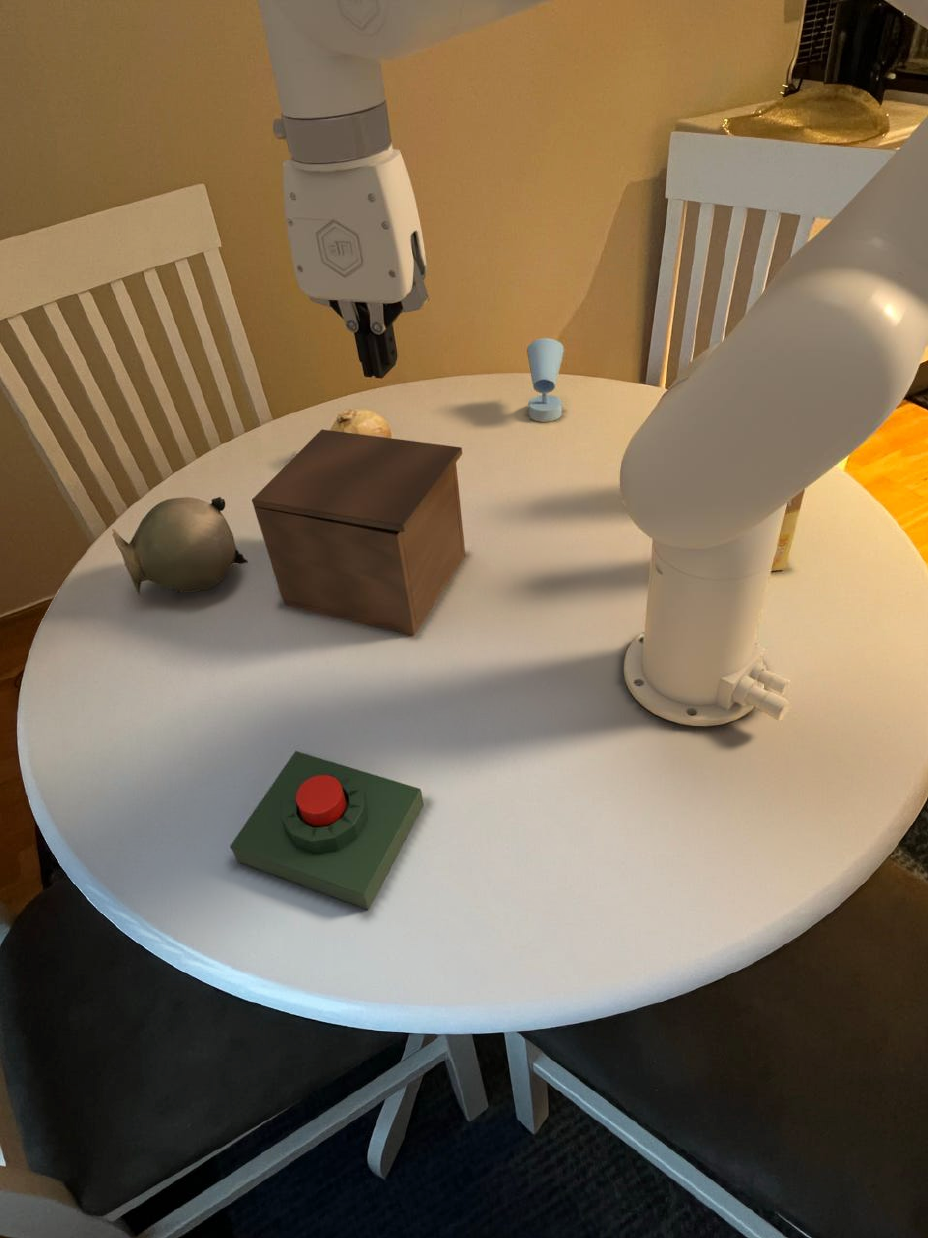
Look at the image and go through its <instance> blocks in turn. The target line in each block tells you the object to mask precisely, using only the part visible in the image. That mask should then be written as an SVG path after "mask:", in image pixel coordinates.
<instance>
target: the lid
mask: <svg viewBox="0 0 928 1238" xmlns="http://www.w3.org/2000/svg"><path fill="white" fill-rule="evenodd" d="M330 430H331V429H330ZM330 430H329V429H320V430H319V431H318V432H317V433H316V434H315V435H314V436H313V437H312V438H311V440H309V441H308V442H307V443H306V445H304V446H303V448H301V450H299V451H298V453H297V454H296V455H294V456H293V457H292V459H290V461H289V462H288V463H286V464H285V466H283V468H282V469H281V470H280V471H279V472H277V474H276V475H275V476H273V478H271V480H269V482H268V483H267V484H266V485H265V486H264V487H263V488H262V489H260V491H259V492H258V493H257V494H256V495H255V496H254V497H253V498H252V499H251V502H252V505H253V507H254V506H255V507H261V508H267V509H273V510H278V511H284V512H290V513H296V514H302V515H307V516H313V517H319V518H325V519H331V520H336V521H342V522H348V523H354V524H360V525H365V526H371V527H377V528H383V529H389V530H394V531H400V532H405V531H406V529H407V528H408V527H409V525H410V524H411V523H412V521H413V520H414V518H415V517H416V516H417V514H418V513H419V512H420V510H421V509H422V508H423V506H424V505H425V504H426V502H427V501H428V500H429V498H430V497H431V496H432V494H433V493H434V492H435V490H436V489H437V487H438V486H439V485H440V483H441V482H442V481H443V479H444V478H445V477H446V475H447V474H448V473H449V471H450V470H451V469H452V467H453V466H454V465H455V463H456V464H457V462H458V461H459V459H460V458H461V457H462V455H463V448H462V447H460V446H453V445H447V444H439V443H438V444H437V443H431V442H430V443H429V442H422V441H414V440H408V439H399V438H393V437H391V438H384V437H377V436H369V435H361V434H353V433H346V432H338V431H330Z"/></svg>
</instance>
